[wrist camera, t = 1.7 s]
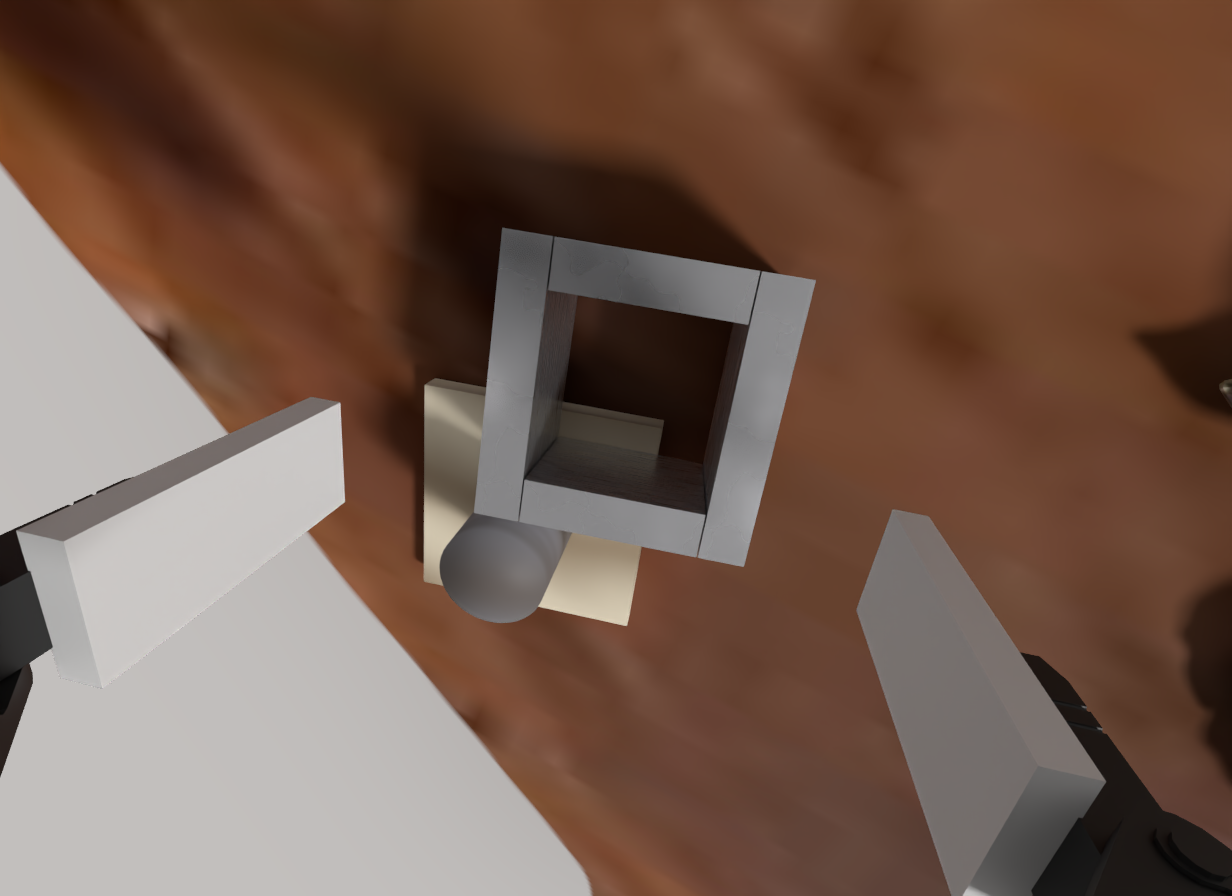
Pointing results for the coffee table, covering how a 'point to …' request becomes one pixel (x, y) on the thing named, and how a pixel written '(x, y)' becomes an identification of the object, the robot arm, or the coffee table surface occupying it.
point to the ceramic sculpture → (1227, 390)
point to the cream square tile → (514, 551)
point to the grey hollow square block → (617, 477)
